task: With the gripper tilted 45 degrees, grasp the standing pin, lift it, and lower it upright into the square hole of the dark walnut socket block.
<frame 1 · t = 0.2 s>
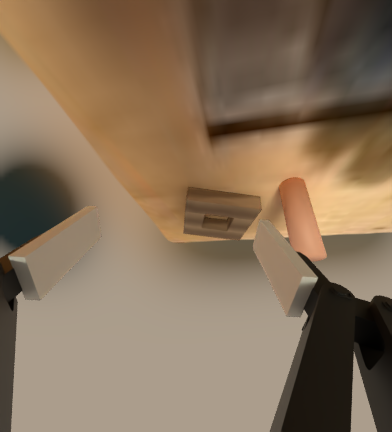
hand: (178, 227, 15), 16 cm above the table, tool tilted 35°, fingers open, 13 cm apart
socket block: (217, 211, 41), on the table
pin: (291, 185, 32), on the table
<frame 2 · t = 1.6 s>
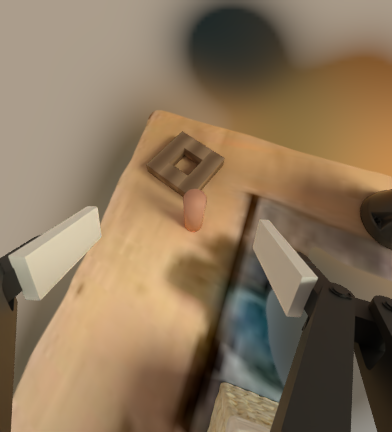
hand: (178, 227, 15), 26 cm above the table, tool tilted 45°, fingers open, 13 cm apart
socket block: (186, 168, 48), on the table
pin: (193, 223, 43), on the table
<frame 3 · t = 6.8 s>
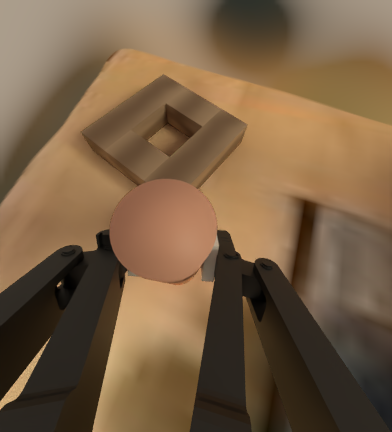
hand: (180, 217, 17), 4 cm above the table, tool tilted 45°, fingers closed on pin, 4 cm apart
socket block: (169, 146, 24), on the table
pin: (178, 264, 19), on the table, touching gripper
when the fingers open (5 cm above the table, at t = 12.7 s): pin drops 1 cm, resting in socket block.
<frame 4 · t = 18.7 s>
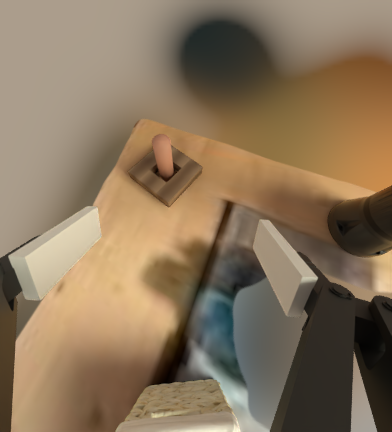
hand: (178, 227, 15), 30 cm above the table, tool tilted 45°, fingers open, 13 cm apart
socket block: (166, 175, 51), on the table
pin: (167, 175, 51), resting in socket block
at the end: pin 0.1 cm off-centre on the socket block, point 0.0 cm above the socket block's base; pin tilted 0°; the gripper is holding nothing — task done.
